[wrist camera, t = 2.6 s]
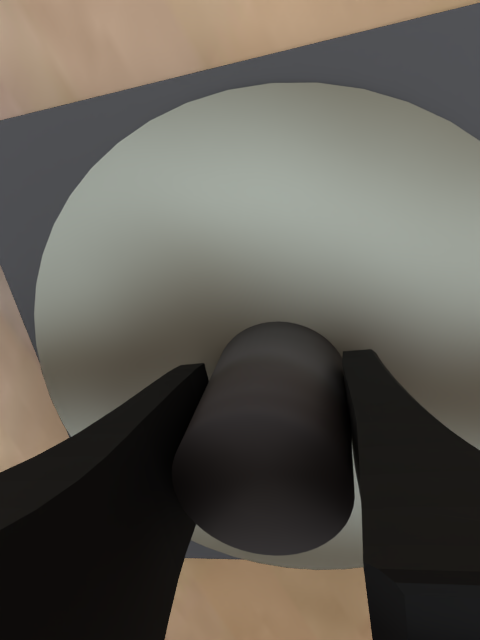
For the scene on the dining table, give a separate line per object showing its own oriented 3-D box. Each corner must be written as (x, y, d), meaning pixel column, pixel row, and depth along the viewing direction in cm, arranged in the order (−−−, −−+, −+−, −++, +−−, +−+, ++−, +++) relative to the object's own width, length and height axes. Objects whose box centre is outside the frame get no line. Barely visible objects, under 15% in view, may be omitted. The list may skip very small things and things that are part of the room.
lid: (552, 553, 13) (649, 745, 9) (127, 546, 16) (60, 686, 12) (599, 5, 8) (856, -98, 4) (-27, 152, 11) (-220, 173, 7)
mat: (563, 552, 13) (571, 567, 13) (122, 544, 17) (117, 556, 16) (621, -28, 8) (638, -37, 8) (-38, 132, 11) (-53, 133, 11)
